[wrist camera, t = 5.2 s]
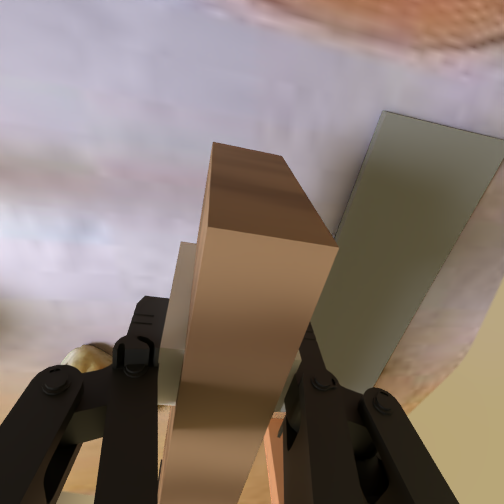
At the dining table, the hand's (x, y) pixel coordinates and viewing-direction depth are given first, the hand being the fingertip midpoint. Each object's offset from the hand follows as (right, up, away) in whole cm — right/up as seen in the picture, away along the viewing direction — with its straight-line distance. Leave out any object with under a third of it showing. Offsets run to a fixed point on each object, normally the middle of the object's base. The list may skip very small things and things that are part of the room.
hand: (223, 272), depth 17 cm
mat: (+11, -3, +11) cm, 16 cm away
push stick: (-1, -4, +3) cm, 5 cm away
